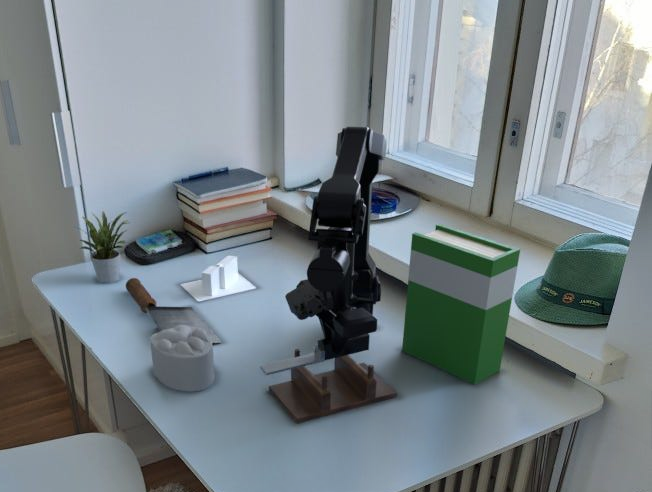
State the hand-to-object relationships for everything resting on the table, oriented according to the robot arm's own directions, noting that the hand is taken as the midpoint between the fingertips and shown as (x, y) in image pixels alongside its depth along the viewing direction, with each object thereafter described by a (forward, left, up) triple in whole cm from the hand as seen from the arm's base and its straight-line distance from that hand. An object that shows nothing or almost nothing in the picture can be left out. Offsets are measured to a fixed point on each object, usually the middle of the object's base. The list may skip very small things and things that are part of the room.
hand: (333, 349), depth 136 cm
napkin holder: (+2, -54, -9) cm, 55 cm away
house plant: (+23, -70, -9) cm, 74 cm away
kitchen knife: (+3, 0, -1) cm, 3 cm away
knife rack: (0, 0, -9) cm, 9 cm away
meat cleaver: (+17, -44, -9) cm, 48 cm away
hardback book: (-26, -1, -9) cm, 28 cm away
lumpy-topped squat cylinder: (+22, -18, -9) cm, 30 cm away
